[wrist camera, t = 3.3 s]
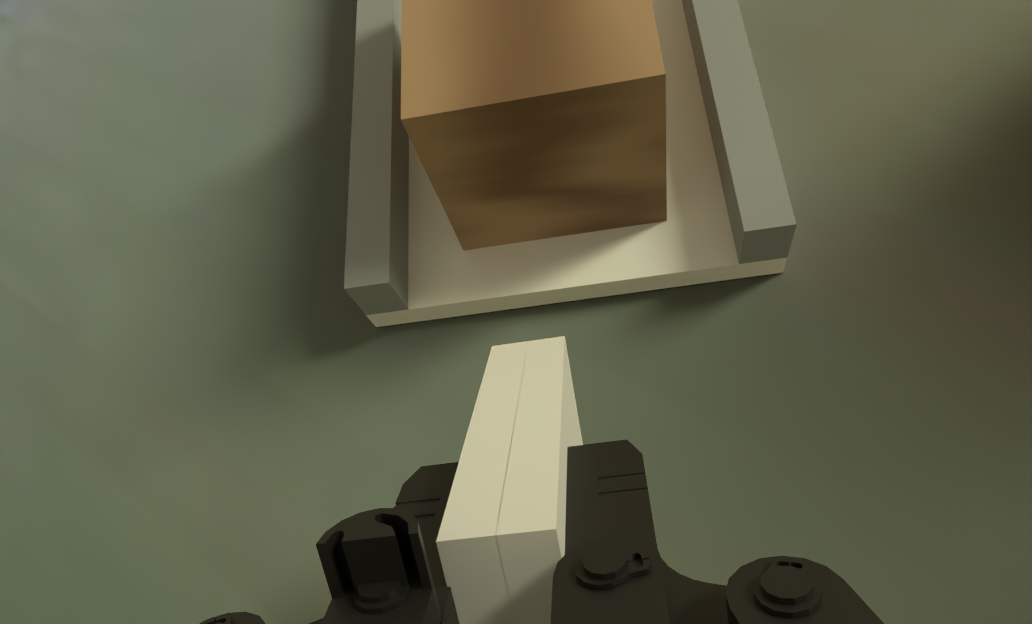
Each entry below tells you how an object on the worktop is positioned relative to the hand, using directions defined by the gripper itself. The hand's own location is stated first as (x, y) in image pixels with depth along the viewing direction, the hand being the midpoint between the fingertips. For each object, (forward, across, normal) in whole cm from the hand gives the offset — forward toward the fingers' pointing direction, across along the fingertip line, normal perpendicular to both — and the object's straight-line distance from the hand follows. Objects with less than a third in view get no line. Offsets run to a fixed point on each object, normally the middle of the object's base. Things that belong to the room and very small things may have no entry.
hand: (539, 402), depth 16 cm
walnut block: (+15, 0, +4) cm, 15 cm away
